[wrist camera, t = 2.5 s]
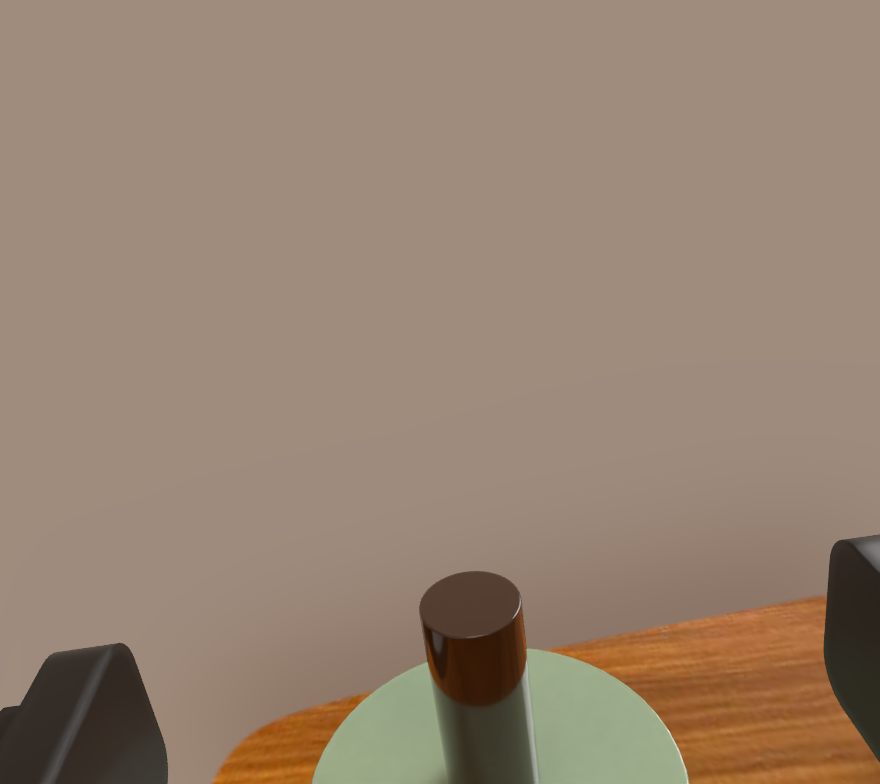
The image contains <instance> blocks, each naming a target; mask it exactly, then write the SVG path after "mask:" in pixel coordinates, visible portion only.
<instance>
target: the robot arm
mask: <svg viewBox="0 0 880 784" xmlns="http://www.w3.org/2000/svg"><path fill="white" fill-rule="evenodd" d="M824 659H825V665H826V670H827V674H828V677H829V681H830V683H831V686H832V689H833V691H834V693H835V696H836V697H837V699H838V701H839V703H840V705H841V706H842V708H843V709H844V711H845V712H846V714H847V715H848V717H849V718H850V720H851V721H852V723H853V724H854V725H855V727H856V728H857V730H858V731H859V733H860V734H861V736H862V737H863V739H864V740H865V742H866V743H867V744H868V746H869V747H870V749H871V750H872V752H873V753H874V755H875V756H876V758H877V759H878V761H879V762H880V535H873V536H867V537H859V538H852V539H845V540H840V541H838V542H836V543H835V544H834V546H833V548H832V551H831V555H830V564H829V578H828V592H827V606H826V620H825V634H824ZM167 782H168V763H167V753H166V748H165V744H164V740H163V737H162V734H161V732H160V729H159V726H158V723H157V721H156V718H155V715H154V712H153V709H152V707H151V704H150V701H149V698H148V695H147V693H146V690H145V687H144V684H143V682H142V678H141V676H140V673H139V670H138V667H137V665H136V662H135V659H134V657H133V654H132V652H131V651H130V649H129V648H128V647H127V646H126V645H125V644H122V643H117V644H110V645H104V646H96V647H90V648H83V649H76V650H69V651H62V652H56V653H53V654H51V655H50V656H49V657H48V658H47V659H46V660H45V662H44V663H43V665H42V667H41V669H40V670H39V672H38V674H37V676H36V677H35V679H34V681H33V683H32V685H31V687H30V689H29V690H28V692H27V694H26V696H25V697H24V699H23V701H22V703H21V705H20V706H13V707H7V708H3V709H2V710H1V711H0V784H167Z"/></svg>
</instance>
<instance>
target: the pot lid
mask: <svg viewBox="0 0 880 784" xmlns="http://www.w3.org/2000/svg"><path fill="white" fill-rule="evenodd" d="M419 614H420V620H421V626H422V632H423V637H424V643H425V649H426V655H427V661H428V662H426V663H424V664H421V665H419V666H416V667H414V668H412V669H410V670H408V671H406V672H404V673H402V674H401V675H398V676H397V677H395V678H393V679H392V680H390V681H389V682H387V683H386V684H384V685H383V686H381V687H379V688H378V689H377V690H376V691H374V692H373V693H372V694H371V695H369V696H368V697H367V698H366V699H364V700H363V701H362V702H361V703H360V704H359V705H358V706H357V707H356V708H355V709H354V710H353V711H352V712H351V713H350V714H349V715H348V716H347V718H346V719H345V720H344V721H343V723H342V724H341V725H340V726H339V728H338V729H337V730H336V731H335V733H334V735H333V736H332V738H331V739H330V741H329V743H328V744H327V746H326V748H325V749H324V751H323V754H322V756H321V758H320V760H319V762H318V765H317V767H316V769H315V773H314V776H313V779H312V783H311V784H689V778H688V773H687V770H686V767H685V764H684V761H683V758H682V756H681V753H680V751H679V749H678V747H677V745H676V743H675V741H674V739H673V737H672V735H671V733H670V732H669V730H668V729H667V727H666V726H665V725H664V723H663V722H662V720H661V719H660V718H659V716H658V715H657V714H656V713H655V712H654V710H653V709H652V708H651V707H650V706H649V705H648V704H647V703H646V702H645V701H644V700H643V699H642V698H641V697H640V696H639V695H637V694H636V693H635V692H634V691H633V690H632V689H630V688H629V687H628V686H627V685H625V684H624V683H622V682H621V681H619V680H617V679H616V678H614V677H613V676H611V675H610V674H608V673H606V672H604V671H602V670H600V669H598V668H596V667H594V666H592V665H590V664H587V663H585V662H582V661H579V660H577V659H574V658H571V657H568V656H564V655H560V654H557V653H553V652H547V651H541V650H536V649H527V648H526V639H525V629H524V619H523V609H522V600H521V595H520V592H519V591H518V589H517V587H516V586H515V585H514V584H513V583H512V582H511V581H509V580H508V579H506V578H505V577H502V576H500V575H497V574H494V573H490V572H484V571H469V572H462V573H457V574H454V575H451V576H448V577H445V578H443V579H441V580H440V581H438V582H436V583H435V584H434V585H432V586H431V587H430V588H429V589H428V590H427V591H426V592H425V594H424V595H423V597H422V599H421V602H420V606H419Z"/></svg>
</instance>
